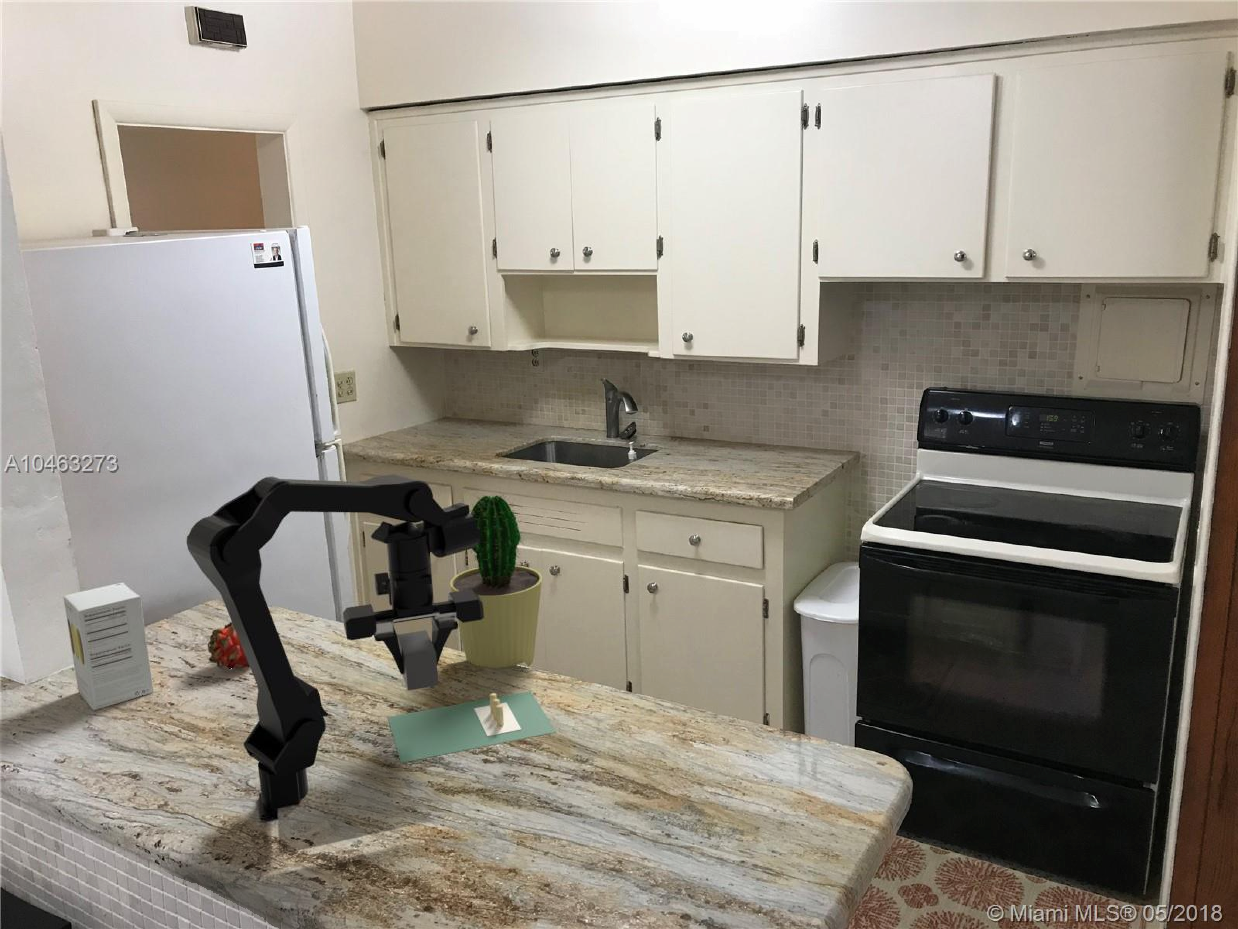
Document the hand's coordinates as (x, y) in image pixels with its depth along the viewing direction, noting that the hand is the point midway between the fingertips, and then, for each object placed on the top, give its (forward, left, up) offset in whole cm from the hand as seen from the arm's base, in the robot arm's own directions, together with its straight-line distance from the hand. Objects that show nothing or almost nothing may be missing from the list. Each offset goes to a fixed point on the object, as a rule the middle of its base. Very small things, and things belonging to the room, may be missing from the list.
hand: (418, 670), depth 138 cm
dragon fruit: (+40, +25, -12) cm, 49 cm away
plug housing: (+1, 0, -1) cm, 2 cm away
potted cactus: (+23, -17, -12) cm, 31 cm away
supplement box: (+36, +44, -12) cm, 58 cm away
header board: (0, -7, -11) cm, 13 cm away
